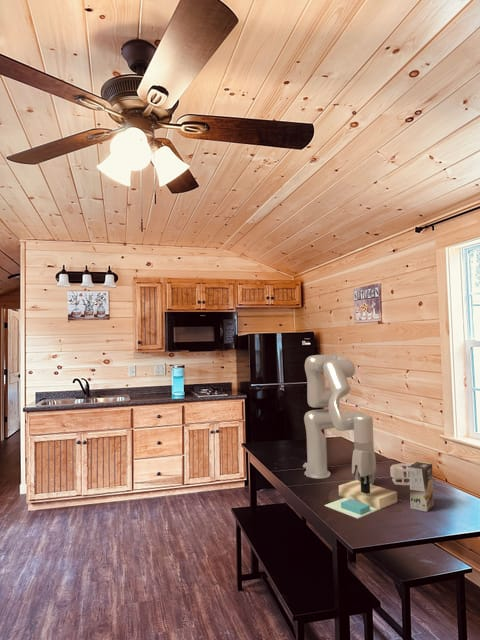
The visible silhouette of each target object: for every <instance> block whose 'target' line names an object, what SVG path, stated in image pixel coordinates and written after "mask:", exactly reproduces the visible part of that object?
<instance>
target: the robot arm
mask: <svg viewBox="0 0 480 640" xmlns="http://www.w3.org/2000/svg"><path fill="white" fill-rule="evenodd" d="M304 371H305V375H306V381H307V382H306V383H307V384H306V387H307V389H306V391H307V393H306V395H307V396H306V397H307V399H306V400H307V404H308V406H309V407H311V408H313V409H312V410H309V411H307V412H305V414H304V417H303V421H304V422H303V423H304V425H305V426H304V428H305V432H306V433H305V434H306V455H307V462H304V464H303V465H302V468H305V469H306V470H305V471H304V476H305V475H306V477H307V478H311V479H316V480H317V479H327V478H329V477H331V472H330V471H329V470H328V455H327V454H328V453H327V452H328V451H327V449H328V448H327V437H326V436H325V434H324V432H323V431H322V430H327V429H334V428H335V429H336V430H337V431H341V432H344V431H345V432H346V431H353V444H354V445H353V446H354V447H353V452H352V456H351V457H352V459H351V474H352V475H355V476H354V479H355V480H359V481H360V482H361V492H363V493H366V494H368V493H370V482H371V477H372V476H373V475H374V473H376V471H377V461H376V453H375V448H374V447H375V445H374V422H373V421H374V419H373V417H372V416H371V415H369V414H366V413H364V412H362V411H358V410H356V411H355V410H354V411H343V412H342V411H340V399H342V398H344V397H345V396H347V395H348V394H349V393H351V385H350V383H349V381H348V378H349V379H350V378H352V377H353V376H354V375H355V374H356V367H355V364H354V363H353V361H352V360H350V359H349V358H346V357H344V356H342V355H339V354H315V355H309V356H308V357H306V359H305V362H304ZM322 373H324V375H323V374H322ZM324 376H325V377H324ZM325 379H326V380H327V384H328V386H329V387H325V386H326V385H325V384H326V383H325V382H326V381H325ZM314 408H318V409H314ZM319 408H325V409H319Z"/></svg>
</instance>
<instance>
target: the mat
mask: <svg viewBox="0 0 480 640" xmlns="http://www.w3.org/2000/svg"><path fill="white" fill-rule="evenodd" d="M347 500H349V499H348V498H345V497H342V498H340V499H337V500H335V501H332V502H329V503H326V504H324V507H327V508H328V509H332V510H334V511H337V512H339V513H342V514H345V515H346V516H347V515H348V516H350V517H352V518H355V519H361V518H362V517H365V516H368V515H370V514H372V513H375V512H377V511H379V509H377V508H374V507H371V506H370V511H368V512H366V513H364V514H361V515H359V514H357V513H354V512H351V511H348V510H346V509H343V508H341V502H344V501H347Z"/></svg>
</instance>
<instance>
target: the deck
mask: <svg viewBox="0 0 480 640" xmlns="http://www.w3.org/2000/svg"><path fill="white" fill-rule="evenodd" d="M338 496H339V497H342V498H347V499H352V500H355V501H358V502H361V503H364V504H367V505H370V507H373V508H376V509H378V511H379V510H382V509H384V508H387V507H389V506H392V505H394V504H396V503H398V492H397V491H395V490H391V489H388V488H385V487H381V486H379V485H378V486H377V485H375V484H370V493H368V494H366V493H363V492H361V482H360V481H358V480H356V479H355V480H351V481H349V482H346V483H343V484H340V485H338Z"/></svg>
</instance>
